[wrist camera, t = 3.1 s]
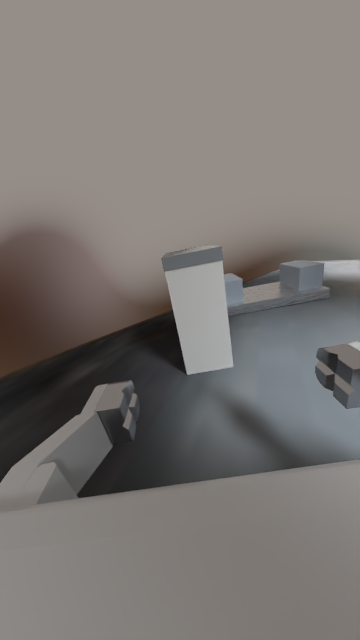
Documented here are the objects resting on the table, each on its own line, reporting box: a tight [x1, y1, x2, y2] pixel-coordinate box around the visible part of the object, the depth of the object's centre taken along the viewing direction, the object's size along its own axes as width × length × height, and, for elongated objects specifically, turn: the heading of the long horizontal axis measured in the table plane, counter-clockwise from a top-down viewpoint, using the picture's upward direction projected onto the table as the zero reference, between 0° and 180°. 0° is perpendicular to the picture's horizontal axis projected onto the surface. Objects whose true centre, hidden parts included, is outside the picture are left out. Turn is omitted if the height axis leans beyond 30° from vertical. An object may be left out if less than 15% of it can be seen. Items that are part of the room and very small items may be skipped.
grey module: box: [162, 245, 233, 375], centre depth 20 cm, size 5×7×11 cm, turn 1°
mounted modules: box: [224, 260, 324, 304], centre depth 32 cm, size 16×6×4 cm, turn 91°
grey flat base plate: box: [227, 281, 330, 316], centre depth 33 cm, size 16×8×2 cm, turn 91°
